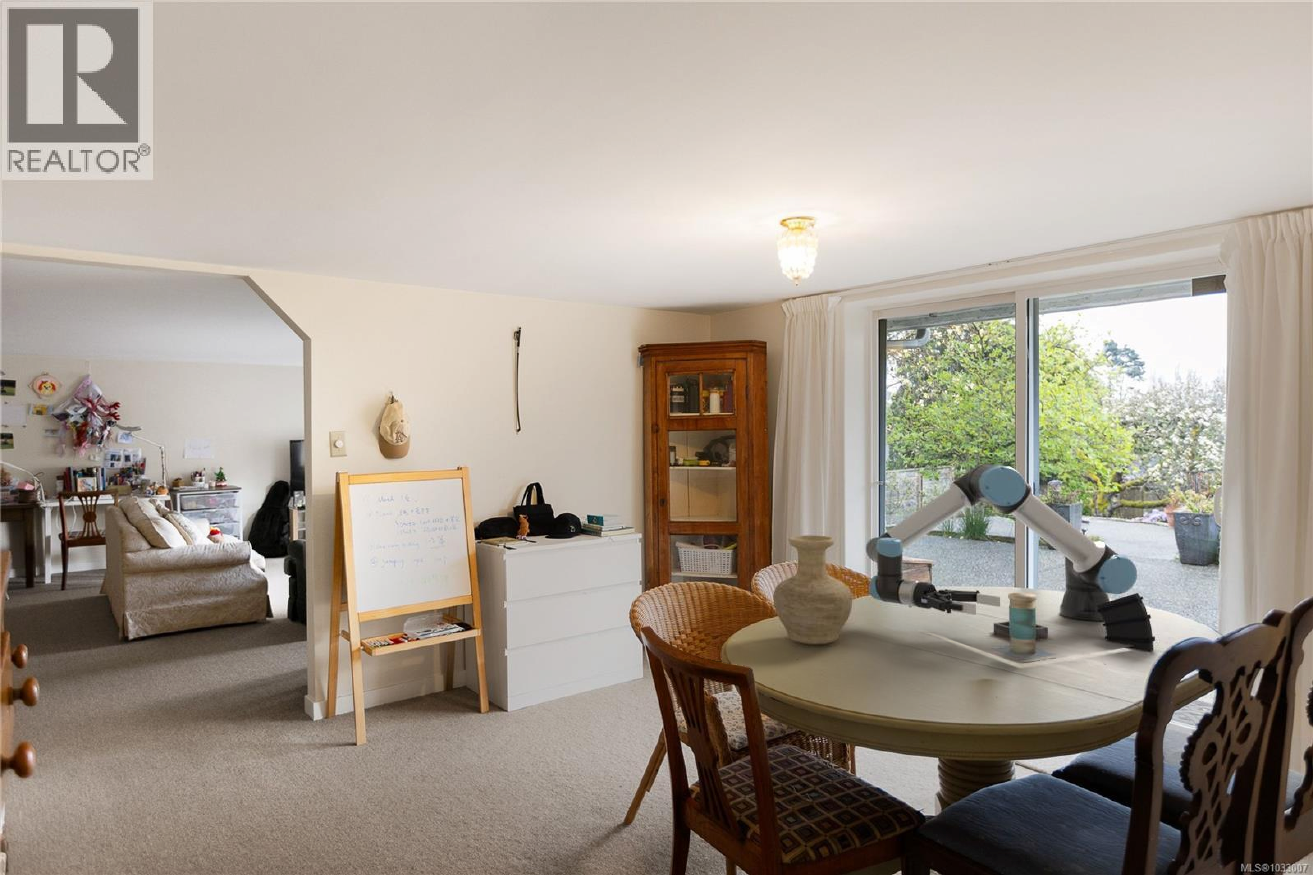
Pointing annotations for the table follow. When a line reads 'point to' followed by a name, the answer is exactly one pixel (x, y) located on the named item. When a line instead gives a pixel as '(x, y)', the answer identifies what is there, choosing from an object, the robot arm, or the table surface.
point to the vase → (812, 595)
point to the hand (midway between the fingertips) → (987, 605)
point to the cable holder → (1004, 631)
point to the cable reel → (1022, 623)
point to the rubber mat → (1037, 654)
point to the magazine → (1128, 622)
